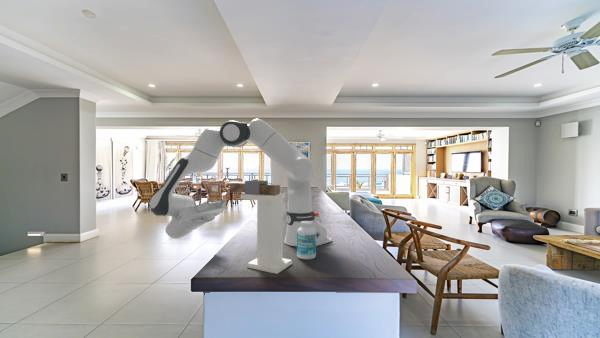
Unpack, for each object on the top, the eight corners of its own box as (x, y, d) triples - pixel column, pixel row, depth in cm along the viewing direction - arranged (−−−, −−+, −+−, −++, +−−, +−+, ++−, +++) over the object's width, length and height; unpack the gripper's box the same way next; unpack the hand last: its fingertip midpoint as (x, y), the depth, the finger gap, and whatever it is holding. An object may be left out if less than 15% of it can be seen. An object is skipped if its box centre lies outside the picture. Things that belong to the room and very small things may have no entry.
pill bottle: (295, 259, 101) (295, 223, 101) (298, 253, 109) (298, 219, 109) (315, 260, 100) (315, 224, 100) (316, 254, 108) (317, 220, 108)
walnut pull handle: (229, 191, 101) (229, 183, 101) (235, 190, 104) (235, 183, 104) (275, 194, 92) (275, 185, 92) (279, 193, 95) (279, 185, 95)
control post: (240, 265, 95) (240, 181, 94) (257, 257, 104) (257, 179, 103) (277, 273, 88) (277, 182, 88) (291, 263, 97) (292, 181, 97)
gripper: (170, 213, 104) (192, 197, 98) (210, 206, 122) (231, 192, 116) (175, 229, 102) (198, 213, 97) (215, 219, 120) (236, 205, 115)
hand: (216, 201), depth 107 cm, fingers open, 8 cm apart
